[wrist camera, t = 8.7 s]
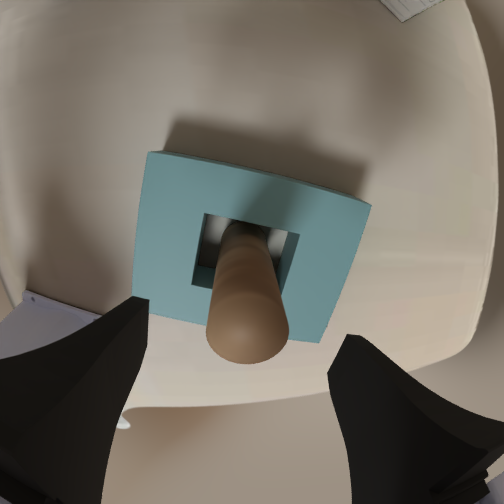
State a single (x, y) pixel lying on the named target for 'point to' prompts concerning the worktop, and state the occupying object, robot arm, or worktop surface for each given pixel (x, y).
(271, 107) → the worktop surface
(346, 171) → the worktop surface
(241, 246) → the walnut peg
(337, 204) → the hole block
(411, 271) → the worktop surface
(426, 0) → the syrup box
